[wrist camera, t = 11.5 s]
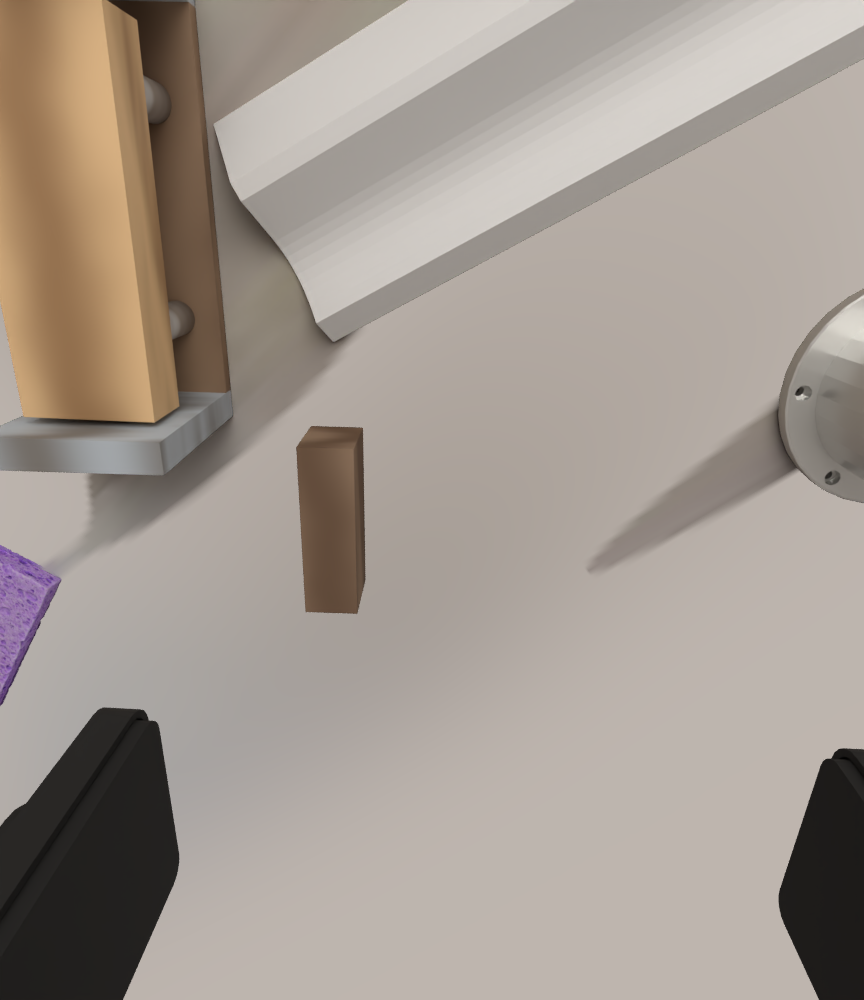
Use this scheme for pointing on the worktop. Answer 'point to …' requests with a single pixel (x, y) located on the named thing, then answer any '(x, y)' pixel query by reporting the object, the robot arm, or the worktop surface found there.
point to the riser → (332, 518)
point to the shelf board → (80, 217)
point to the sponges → (20, 610)
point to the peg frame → (188, 272)
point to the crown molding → (501, 127)
